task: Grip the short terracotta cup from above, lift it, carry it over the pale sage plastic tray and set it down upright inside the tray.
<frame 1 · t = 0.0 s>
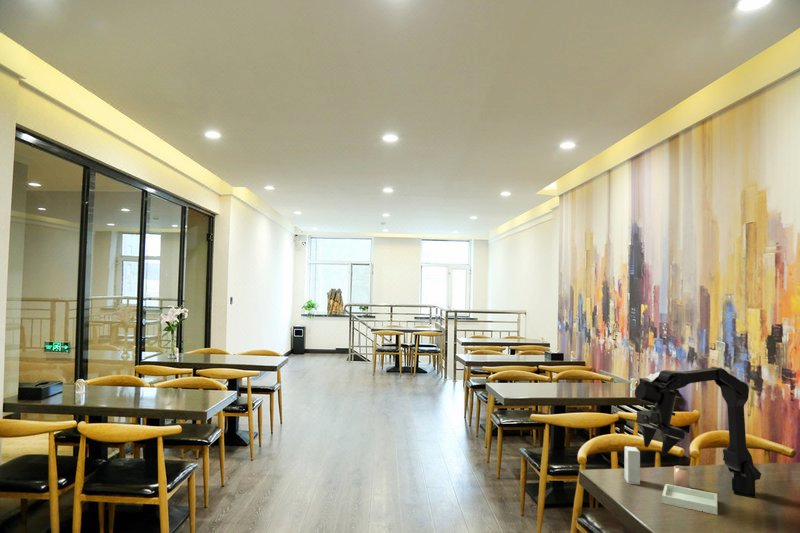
hand: (654, 451, 174), 15 cm above the table, tool pointing down, fingers open, 9 cm apart
skincare box: (632, 482, 187), on the table
cup: (681, 487, 182), on the table
tray: (689, 502, 169), on the table
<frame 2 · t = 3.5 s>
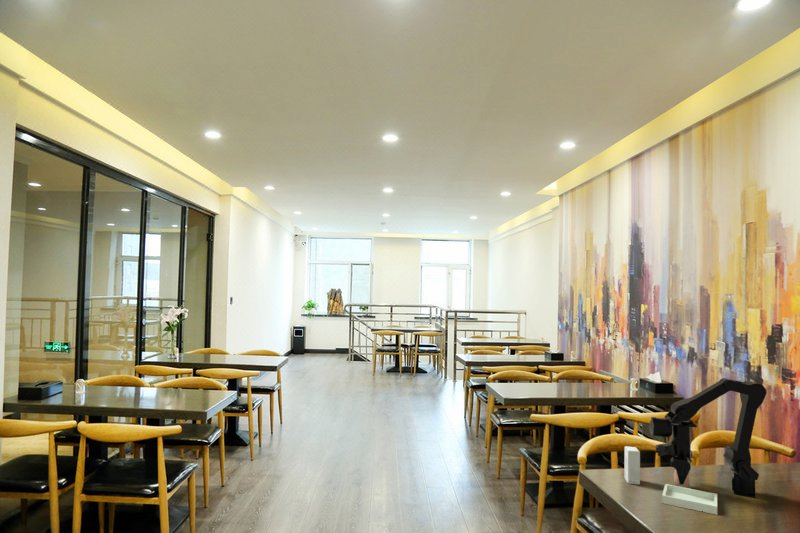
hand: (681, 481, 182), 2 cm above the table, tool pointing down, fingers closed on cup, 5 cm apart
cup: (681, 487, 182), on the table, touching gripper
everything else where it was.
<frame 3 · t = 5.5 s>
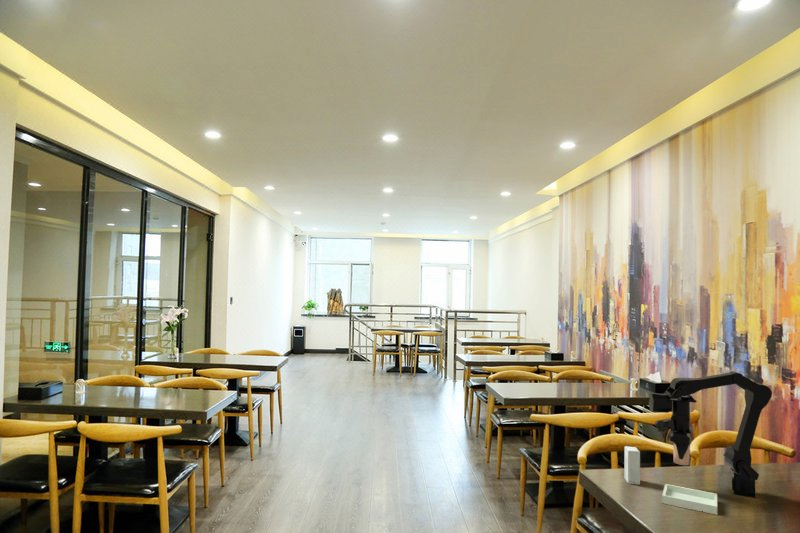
hand: (681, 457, 182), 11 cm above the table, tool pointing down, fingers closed on cup, 5 cm apart
cup: (681, 462, 182), point 9 cm above the table, touching gripper
everything else where it was.
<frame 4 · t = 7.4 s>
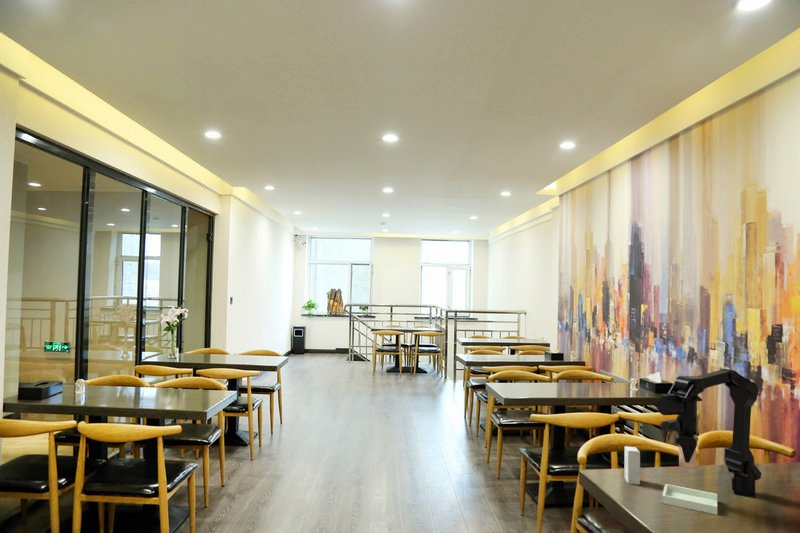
hand: (687, 460, 171), 13 cm above the table, tool pointing down, fingers closed on cup, 5 cm apart
cup: (687, 466, 171), point 11 cm above the table, touching gripper
everything else where it was.
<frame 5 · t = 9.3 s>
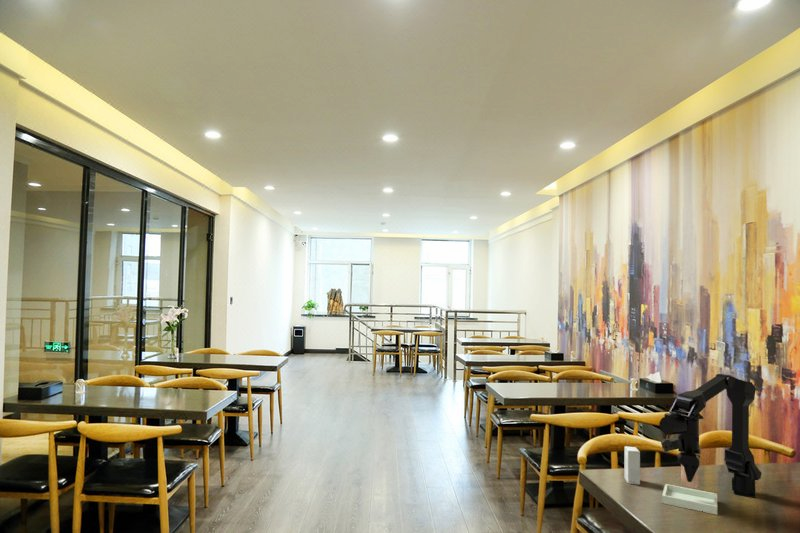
hand: (689, 479, 169), 8 cm above the table, tool pointing down, fingers closed on cup, 5 cm apart
cup: (689, 485, 169), point 5 cm above the table, touching gripper
everything else where it was.
when the fingers open (4 cm above the table, at t = 11.2 s): cup drops 1 cm, resting on tray.
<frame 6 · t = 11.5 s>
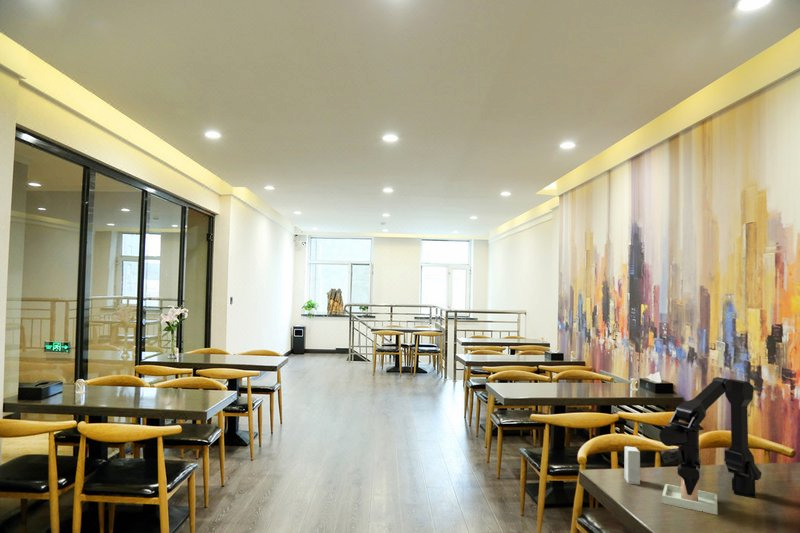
hand: (689, 490, 169), 4 cm above the table, tool pointing down, fingers open, 8 cm apart
cup: (689, 500, 169), point 1 cm above the table, touching tray
everything else where it was.
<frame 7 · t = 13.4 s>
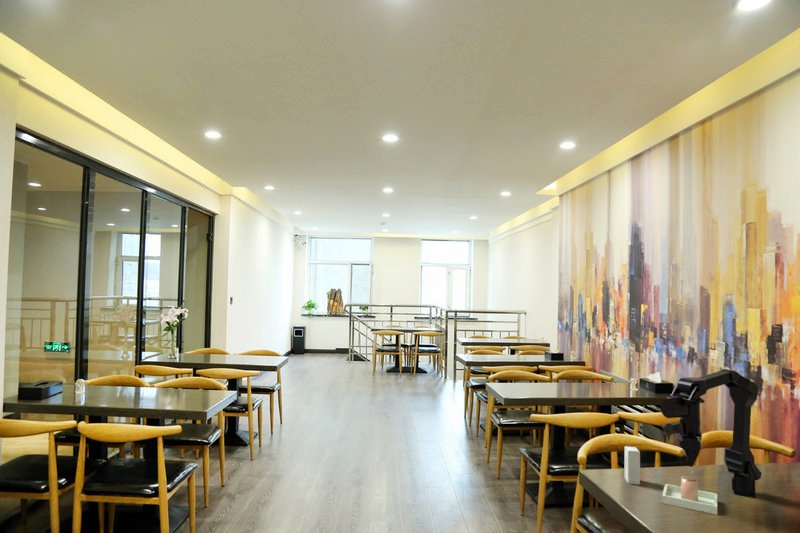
hand: (691, 462, 170), 13 cm above the table, tool pointing down, fingers open, 9 cm apart
nothing on the table moved.
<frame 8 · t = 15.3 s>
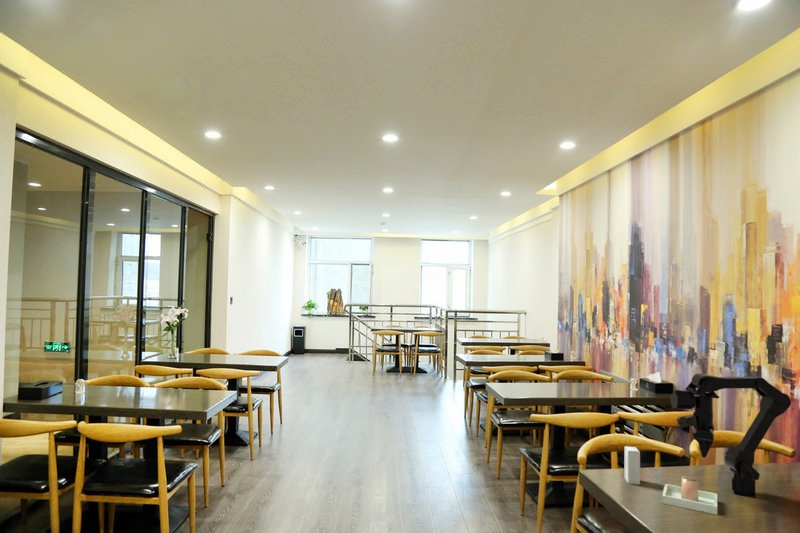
hand: (704, 454, 180), 13 cm above the table, tool pointing down, fingers open, 9 cm apart
nothing on the table moved.
at the end: cup inside the target area on the tray (0.1 cm from its centre), point 0.7 cm above the tray's base; cup tilted 2°; the gripper is holding nothing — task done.
